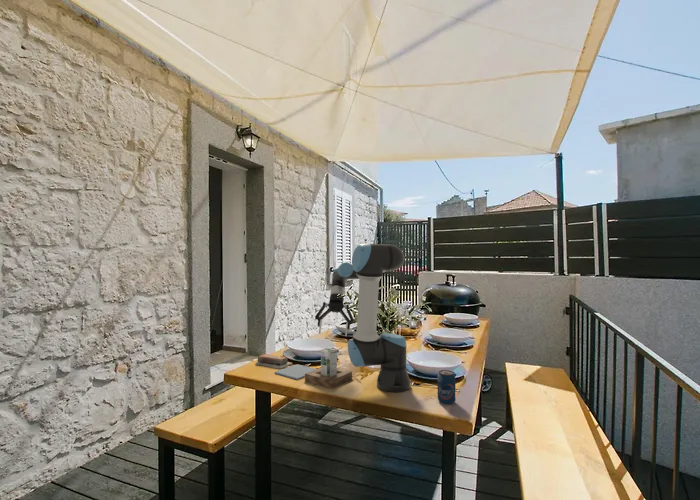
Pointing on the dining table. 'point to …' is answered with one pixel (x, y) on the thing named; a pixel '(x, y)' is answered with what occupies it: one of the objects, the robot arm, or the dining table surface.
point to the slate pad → (295, 371)
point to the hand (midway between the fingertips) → (332, 334)
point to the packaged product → (273, 361)
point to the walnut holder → (328, 378)
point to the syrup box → (328, 362)
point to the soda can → (446, 387)
